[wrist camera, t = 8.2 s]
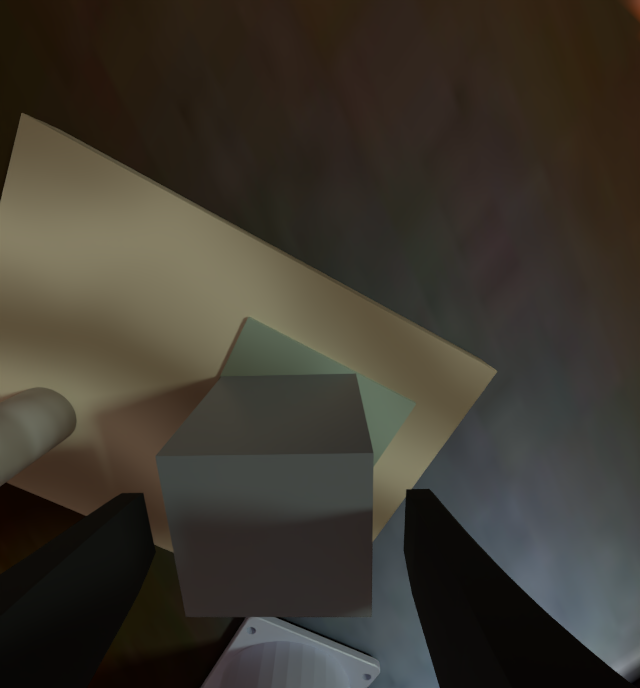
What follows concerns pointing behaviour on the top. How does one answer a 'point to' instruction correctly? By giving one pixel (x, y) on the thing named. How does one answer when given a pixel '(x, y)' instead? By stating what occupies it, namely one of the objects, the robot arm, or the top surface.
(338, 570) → the grey matte cube
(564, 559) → the top surface
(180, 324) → the board
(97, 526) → the robot arm
